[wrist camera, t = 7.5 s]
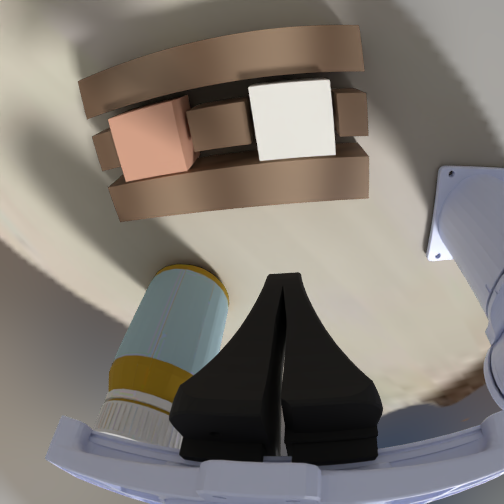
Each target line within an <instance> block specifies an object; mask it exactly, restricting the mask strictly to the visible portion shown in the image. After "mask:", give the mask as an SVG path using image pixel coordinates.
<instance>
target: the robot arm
mask: <svg viewBox="0 0 504 504" xmlns="http://www.w3.org/2000/svg"><path fill="white" fill-rule="evenodd" d="M450 171H452V174H451V175H449V172H450ZM438 253H439V254H438ZM436 254H438V255H437V256H436ZM426 257H427V259H428V260H429V261H438V260H449V259H454V261H455V262H456V264H457V265H458V267H459V269H460V270H461V272H462V273H463V275H464V277H465V278H466V280H467V282H468V284H469V285H470V287H471V289H472V290H473V292H474V294H475V296H476V298H477V299H478V301H479V303H480V305H481V307H482V308H483V310H484V312H485V314H486V316H487V318H488V320H489V324H488V327H487V329H486V331H485V333H486V335H487V337H488V339H489V342H490V344H491V347H490V348H489V350H488V352H487V354H486V357H485V361H484V376H485V381H486V384H487V387H488V390H489V392H490V394H491V396H492V397H493V399H494V400H495V402H496V403H497V404H498V406H499V407H500V408H501V409H502V411H499V412H497V413H494V414H492V415H490V416H489V417H487V418H486V419H485V420H484V421H483V422H482V424H481V425H478V426H475V427H472V428H469V429H465V430H462V431H459V432H455V433H452V434H448V435H444V436H440V437H436V438H433V439H428V440H424V441H419V442H415V443H410V444H405V445H400V446H394V447H388V448H382V449H378V448H377V436H378V430H377V424H378V422H379V420H380V418H381V415H382V412H383V407H382V403H381V399H380V396H379V394H378V391H377V389H376V387H375V385H374V383H373V381H372V380H371V379H370V378H368V377H367V376H366V375H365V374H364V373H363V372H362V371H361V370H360V369H359V368H357V366H356V365H355V364H354V363H353V362H352V361H351V360H350V359H349V358H348V357H347V356H346V355H345V354H344V352H343V351H342V350H341V349H340V348H339V347H338V345H337V344H336V343H335V342H334V340H333V339H332V338H331V336H330V335H329V333H328V332H327V330H326V329H325V327H324V326H323V324H322V323H321V321H320V319H319V318H318V316H317V314H316V312H315V310H314V309H313V307H312V304H311V302H310V300H309V298H308V296H307V294H306V291H305V288H304V285H303V282H302V278H301V274H300V273H298V272H297V273H282V274H269V275H268V276H267V279H266V281H265V284H264V286H263V289H262V291H261V293H260V295H259V297H258V299H257V301H256V303H255V304H254V306H253V308H252V310H251V311H250V313H249V315H248V316H247V318H246V319H245V321H244V322H243V324H242V325H241V327H240V328H239V330H238V331H237V332H236V333H235V335H234V336H233V337H232V339H231V340H230V341H229V342H228V343H227V344H226V345H225V347H224V348H223V349H222V350H221V351H220V352H219V353H218V354H217V355H216V356H215V357H214V358H213V359H212V360H211V361H210V362H209V363H207V364H206V365H205V366H204V367H203V368H202V369H201V370H200V371H198V372H197V373H196V374H194V375H193V376H192V377H190V378H189V379H188V380H186V381H185V382H184V383H182V384H181V385H180V386H179V388H178V390H177V393H176V395H175V397H174V400H173V403H172V407H171V411H170V414H169V421H170V422H171V424H172V425H173V427H174V428H175V429H176V430H177V431H178V432H179V433H180V434H181V435H182V436H183V439H182V443H181V448H180V449H177V448H171V447H165V446H159V445H153V444H148V443H143V442H138V441H134V440H129V439H125V438H121V437H117V436H113V435H109V434H105V433H101V432H98V431H94V430H92V429H91V428H90V427H89V426H88V425H87V424H85V423H84V422H82V421H79V420H76V419H73V418H70V417H67V416H61V419H60V421H59V424H58V426H57V429H56V431H55V433H54V436H53V438H52V441H51V443H50V446H49V449H48V451H47V454H46V457H45V459H46V460H47V461H49V462H51V463H52V464H54V465H56V466H57V467H59V468H60V469H62V470H64V471H66V472H67V473H69V474H71V475H73V476H75V477H76V478H79V479H81V480H84V481H86V482H88V483H91V484H94V485H96V486H99V487H101V488H104V489H107V490H110V491H112V492H115V493H118V494H121V495H124V496H127V497H130V498H133V499H136V500H139V501H143V502H146V503H150V504H425V503H429V502H432V501H435V500H439V499H442V498H445V497H447V496H451V495H453V494H456V493H459V492H462V491H465V490H467V489H470V488H472V487H475V486H477V485H480V484H482V483H485V482H487V481H489V480H492V479H494V478H497V477H498V476H500V475H502V474H503V473H504V168H494V167H474V166H442V167H440V169H439V171H438V178H437V188H436V196H435V204H434V212H433V218H432V225H431V231H430V237H429V242H428V248H427V253H426ZM284 357H285V360H284ZM283 366H284V371H283ZM282 375H283V380H282ZM281 406H282V410H283V416H284V422H285V437H284V443H285V444H286V449H287V454H288V456H280V455H281V454H280V452H281Z"/></svg>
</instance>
